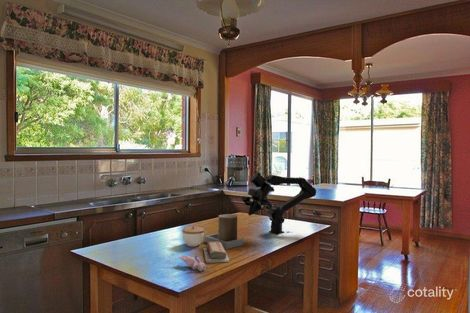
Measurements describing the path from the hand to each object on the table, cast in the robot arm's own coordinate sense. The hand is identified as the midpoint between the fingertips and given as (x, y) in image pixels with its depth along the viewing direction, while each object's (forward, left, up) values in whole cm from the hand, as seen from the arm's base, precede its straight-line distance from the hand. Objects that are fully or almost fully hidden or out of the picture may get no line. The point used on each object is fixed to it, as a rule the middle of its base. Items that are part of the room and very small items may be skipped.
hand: (249, 214), depth 185 cm
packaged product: (+34, +12, -13) cm, 38 cm away
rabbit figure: (+50, +18, -12) cm, 55 cm away
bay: (+17, 0, -12) cm, 21 cm away
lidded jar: (+31, -8, -12) cm, 35 cm away
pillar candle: (+15, 0, -12) cm, 20 cm away
